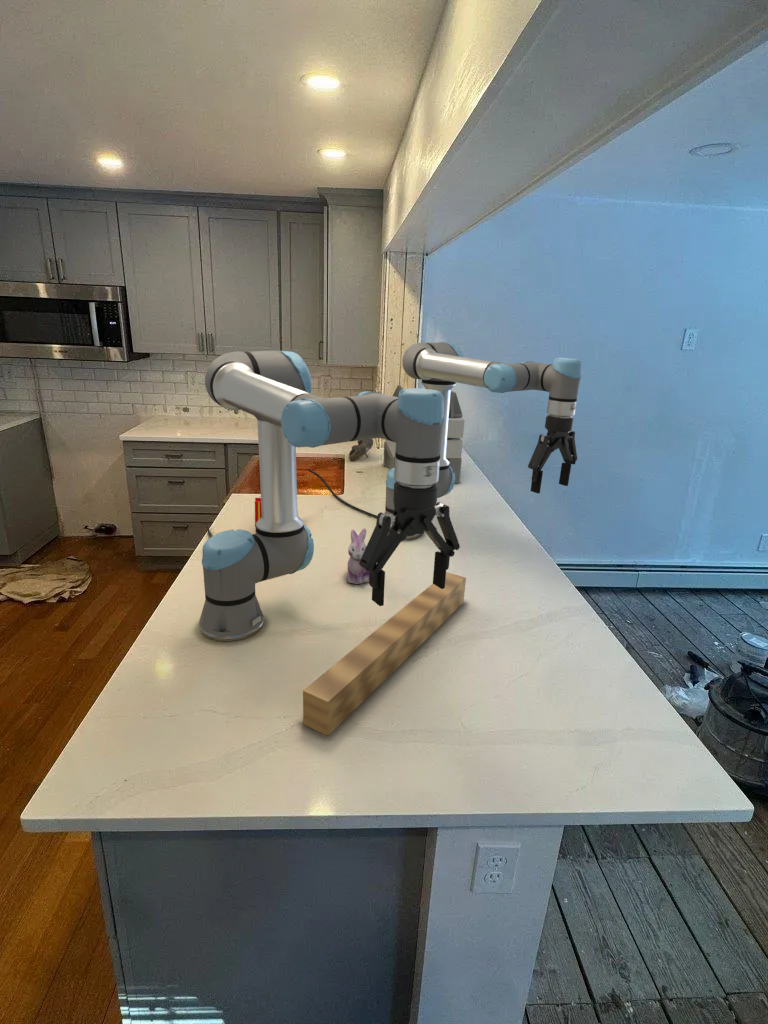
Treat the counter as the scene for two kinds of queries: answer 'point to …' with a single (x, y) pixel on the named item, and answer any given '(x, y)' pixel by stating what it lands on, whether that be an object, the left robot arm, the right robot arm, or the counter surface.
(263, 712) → the counter surface
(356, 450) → the fossil
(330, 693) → the post
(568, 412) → the right robot arm
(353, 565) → the figurine
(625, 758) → the counter surface
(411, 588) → the counter surface
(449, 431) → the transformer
